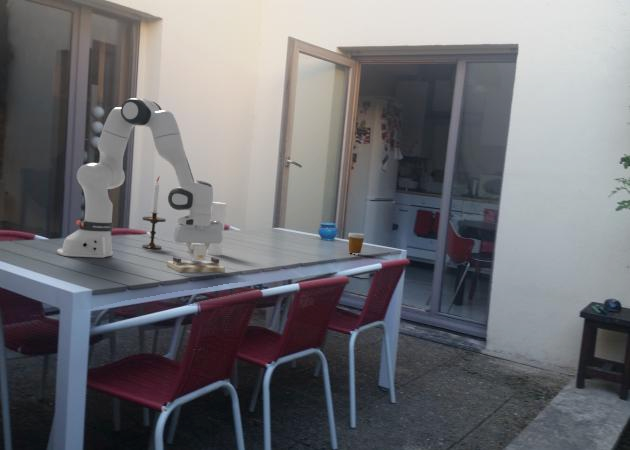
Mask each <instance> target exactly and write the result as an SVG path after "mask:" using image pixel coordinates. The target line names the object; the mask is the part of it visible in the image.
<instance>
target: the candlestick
mask: <svg viewBox="0 0 630 450" xmlns="http://www.w3.org/2000/svg"><path fill="white" fill-rule="evenodd" d="M159 179H160V175H159V176H158V177H157V179H156V183H155V185H154V195H153V205H152V211H151V212H150V213H151V214H152V215H151V216H142V220H143V221H146V222H150V223H151V231H149V233H150V237H149V239H150V242H149V243H148V244H142V245H141V248H142V249H147V250H162V246H161V245H157V244H155V241H154V240H155V238H156V237H155V235H156V233H157V232H156V230H155V229H156V224H158V223H165V222H166V221H167V219H166V218H164V217H158V216H157V215H158V202H159V201H158V200H159V191H160V190H159V189H160V185H159Z"/></svg>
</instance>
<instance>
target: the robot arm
mask: <svg viewBox="0 0 630 450" xmlns="http://www.w3.org/2000/svg"><path fill="white" fill-rule="evenodd" d="M105 120H106V121H105V122H104V125H103V127H102V131H101V133H100V137H99V140H98V141H97V149H98V151H99V160H98V162H89V163H85V164H83V165H81V166H80V167H79V168H78V170H77V171H76V180H77V181H78V183H79V185H80V186H81V189H82V191H83V195H84V199H85V200H84V201H85V206H84V207H85V209H84V220H82V221H81V220H77V221H76V222H75V223H76V225H77V226H78V229H77V230H75V231H74V232H73V233H71V234H69V235H67V236H66V237H65V238H64V240H63V243H62V244H63V245H62V248H58V249H57V251H56V253H57V254H58V255H61V256H63V257H64V256H65V257H75V258H76V257H78V258H81V257H82V258H83V257H84V258H105V257H111V256H113V255H114V254H113V253H114V252H113V248H112V234H113V222H112V220H113V219H112V218H113V207H114V204H113V202H112V201H111V200H110V196H109V191H108V190H112V189H116V188H119V187H120V186H122V185H123V184H124V182H125V180H126V179H125V178H126V175H125V171H124V169H123V168H124V166H123V165H124V164H123V163H124V155H125V151H126V149H127V144H128V142H129V139H130V137H131V134H132V133H131V132H132V130H133V129H134V128H135V127H136V126H138V127H147V128H149V129H150V131H151V133H152V137H153V142H154V147H155V149H156V151H157V154H158V155H159V157H161V158H162V159H164V160H165V161H167V162H168V163H169V164H170V165H171V166H172V168H173V169H174V172H175V174H176V177H177V181H178V184H179V187H174V188H172V189H171V190H170V192H169V193H168V195H167V201H168V204H169V206H170V207H171V208H172V209H173V210H176V211H189V215H186V216H182V217H178V219H177V223H178V224H177V225H176V226H175V229H174V233H173V234H174V235H173V239H174V241H175V243H180V244H182V243H184V244H185V246H186V247H187V249H188V250H187V254H193V249H191V247H190V246H191V243H200V244H204V245H205V246H207V248H206V252H207V249H208V248H209V246H210V243H217V244H220V243H221V242H222V228H223V225H222V223H220V222H219V221H217V222H216V221H211V214H212V213H211V207H212V204H213V202H214V189H213V186H212V185H211V184H212V183H209V182H206V181H202V180H194V179H195V178H194V177H193V173H192V170H191V167H190V163H189V161H188V158H187V155H186V152H185V147H184V144H183V141H182V135H181V132H180V128H179V125H178V122H177V120H176V118H175V115H174V114H173V113H172V111H169V110H163V109H162V107H161V106H160V105H159V104H158V103H157V102H154V101H152V100H148V99H146V98H145V99H144V98H136V97H133V98H129V99H127V100H125V101H124V102H123V103H122V105H121V106H120V107H119V106H118V107H117V106H116V107H114V108H113V109H112V110H111V111H110V112H109V114H108V115H107V118H106V119H105Z"/></svg>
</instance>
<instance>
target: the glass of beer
mask: <svg viewBox="0 0 630 450" xmlns="http://www.w3.org/2000/svg"><path fill="white" fill-rule="evenodd" d="M365 238H366V237H365V234H364V233H361V232H349V233H348V253H349V252H350V253H360V254H361V251H362V248H363V243H364V239H365Z"/></svg>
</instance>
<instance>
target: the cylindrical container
mask: <svg viewBox="0 0 630 450" xmlns="http://www.w3.org/2000/svg"><path fill="white" fill-rule="evenodd" d="M211 213H212V214H211V221H216V222H217V221H219V222H220V223H222V225H223V228H222V242H221V243H220V244H217V243H210V246H209V248H208V249H207V251H206V255H209V254H210V256H222V254H223V243H224V233H225V222H226V213H227V203H226V202H221V201H220V202H219V201H213V204H212V207H211Z"/></svg>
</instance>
